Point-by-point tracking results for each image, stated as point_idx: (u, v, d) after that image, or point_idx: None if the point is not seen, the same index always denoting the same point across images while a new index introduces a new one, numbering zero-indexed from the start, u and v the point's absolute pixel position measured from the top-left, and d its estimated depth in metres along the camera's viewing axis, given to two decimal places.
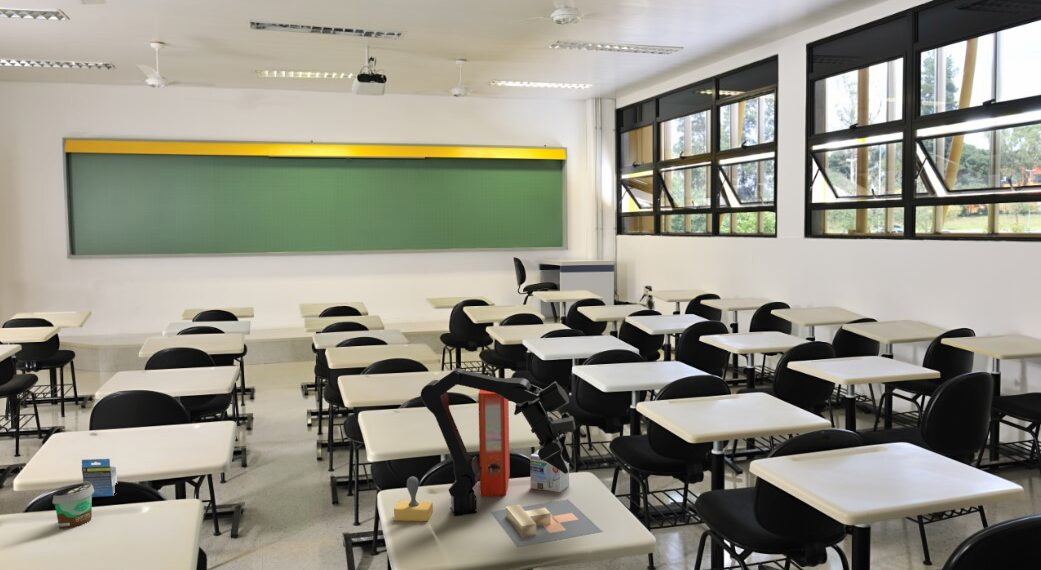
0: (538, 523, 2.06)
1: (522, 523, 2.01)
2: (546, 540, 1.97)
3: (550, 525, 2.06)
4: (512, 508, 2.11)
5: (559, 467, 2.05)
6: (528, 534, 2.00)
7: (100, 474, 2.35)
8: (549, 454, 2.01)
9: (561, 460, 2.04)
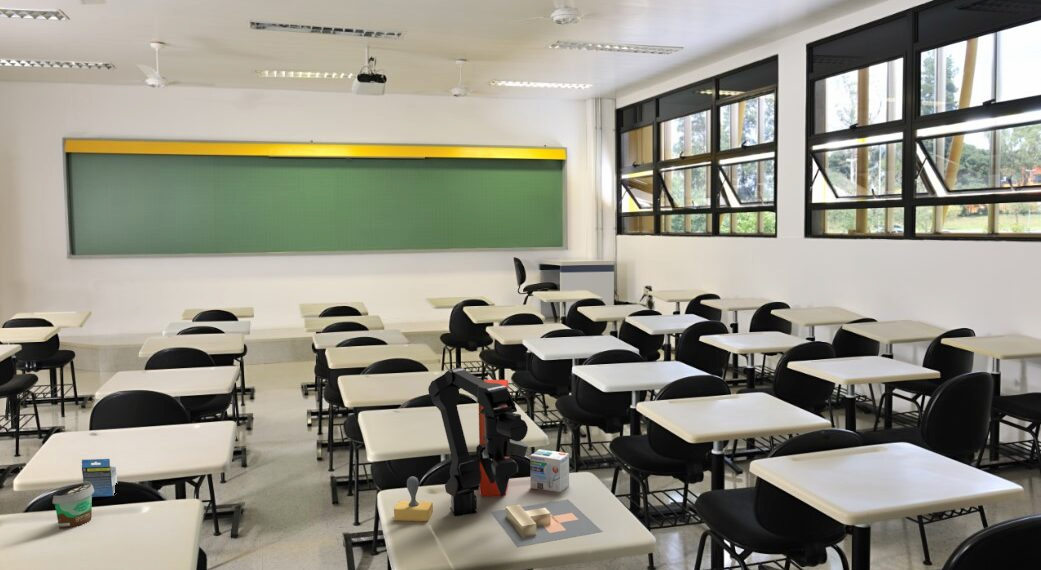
0: (538, 523, 2.06)
1: (522, 523, 2.01)
2: (546, 540, 1.97)
3: (550, 525, 2.06)
4: (512, 508, 2.11)
5: (500, 486, 1.98)
6: (528, 534, 2.00)
7: (100, 474, 2.35)
8: (506, 472, 1.94)
9: (507, 481, 1.98)
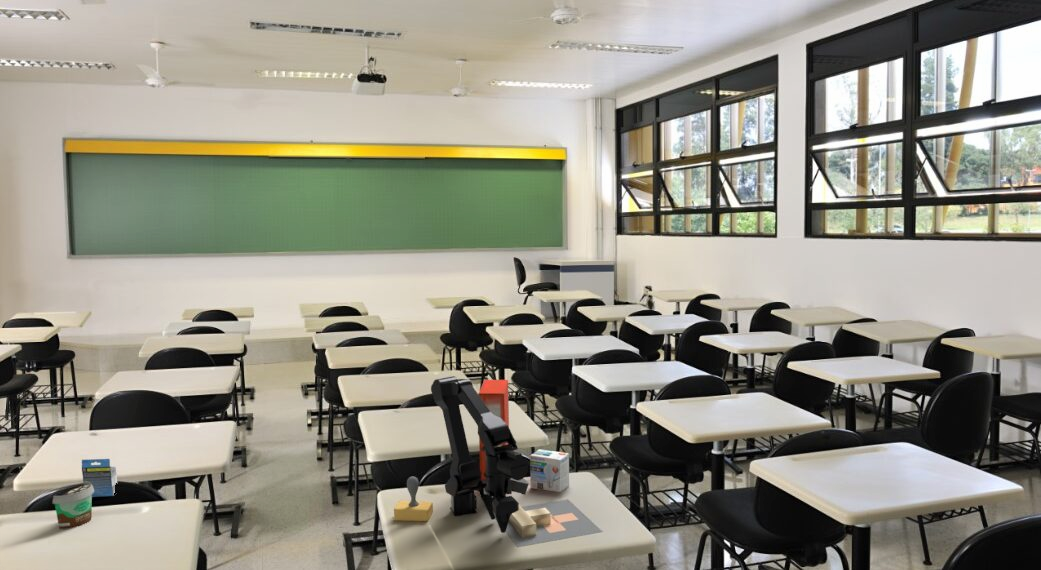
0: (538, 523, 2.06)
1: (522, 523, 2.01)
2: (546, 540, 1.97)
3: (550, 525, 2.06)
4: None
5: (501, 524, 1.99)
6: (528, 534, 2.00)
7: (100, 474, 2.35)
8: (507, 511, 1.95)
9: (507, 519, 1.99)
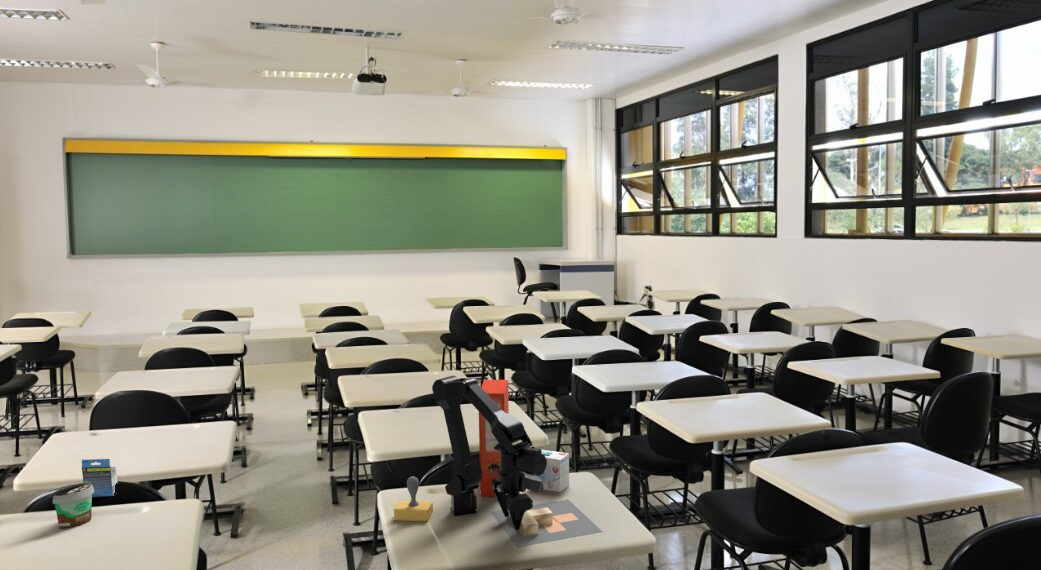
0: (540, 523, 2.06)
1: (524, 522, 2.01)
2: (546, 540, 1.97)
3: (550, 525, 2.06)
4: None
5: (515, 522, 2.00)
6: (530, 534, 2.00)
7: (100, 474, 2.35)
8: (521, 508, 1.96)
9: (521, 516, 2.00)
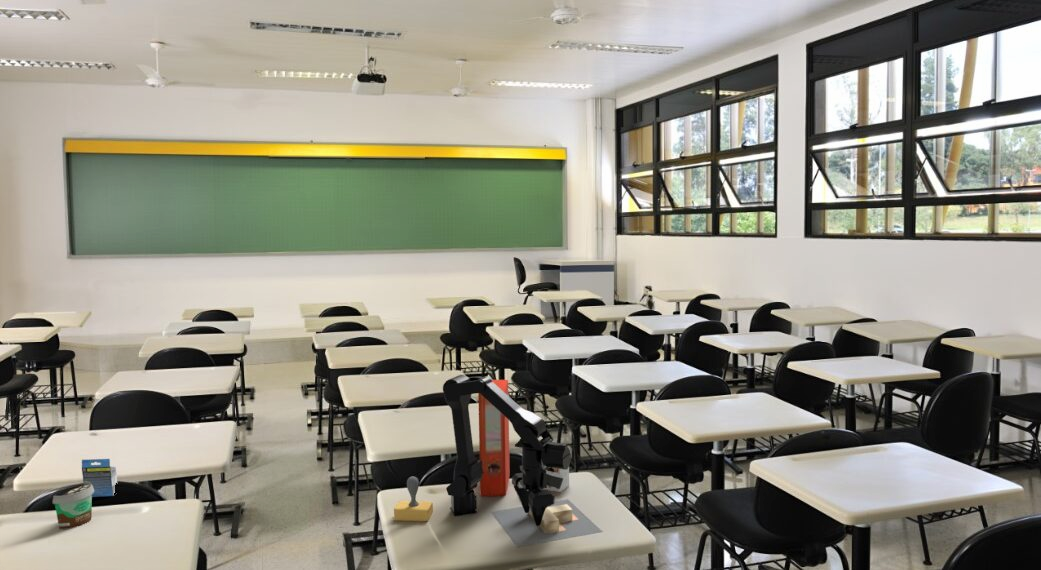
0: (560, 519, 2.08)
1: (545, 519, 2.03)
2: (546, 540, 1.97)
3: None
4: None
5: (536, 517, 2.02)
6: (551, 530, 2.02)
7: (100, 474, 2.35)
8: (543, 504, 1.98)
9: (542, 512, 2.02)
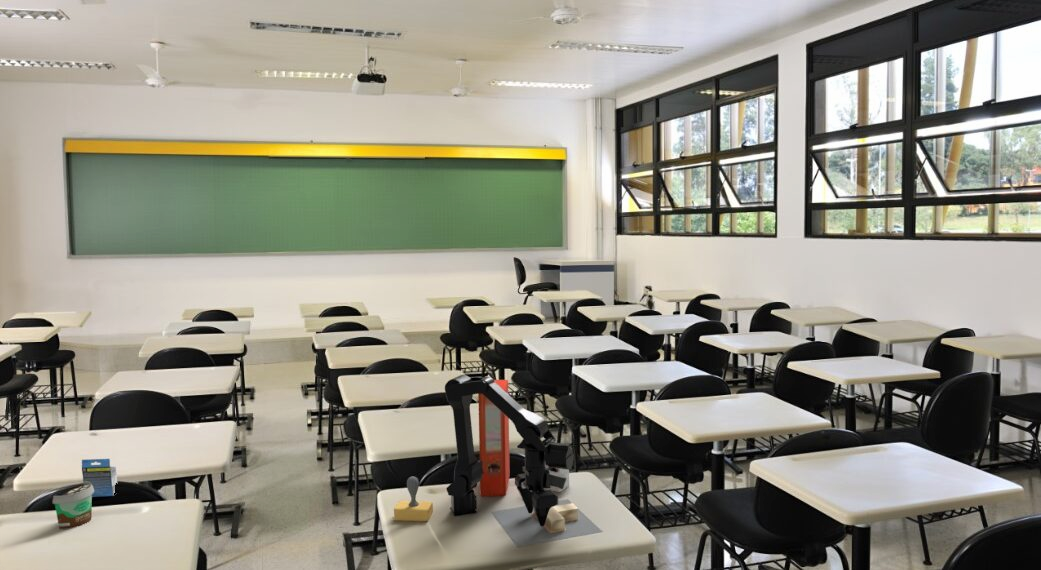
0: (566, 518, 2.09)
1: (551, 518, 2.04)
2: (546, 540, 1.97)
3: None
4: None
5: (540, 518, 2.02)
6: (557, 529, 2.03)
7: (100, 474, 2.35)
8: (547, 504, 1.98)
9: (546, 513, 2.02)
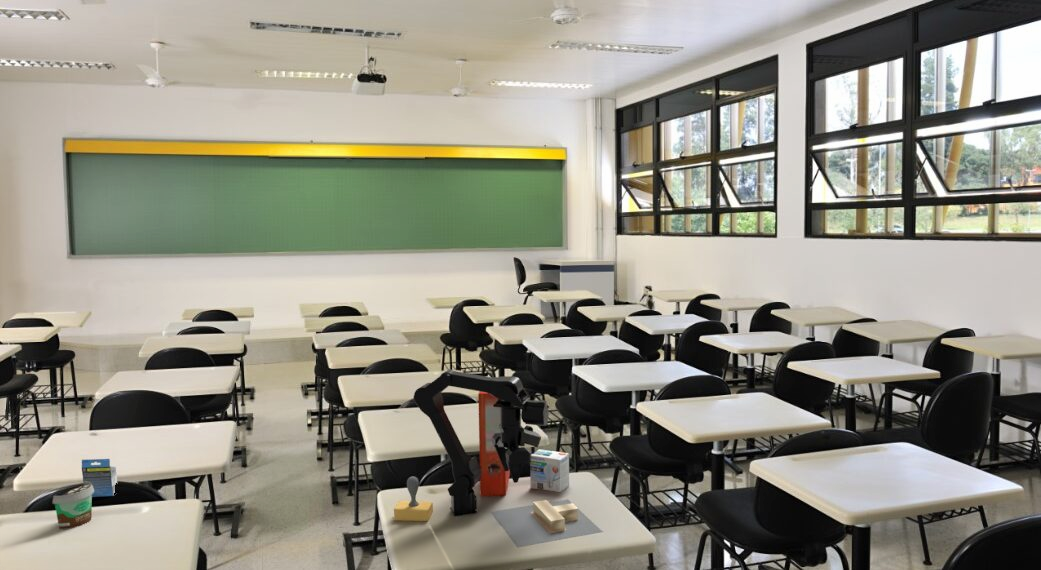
0: (566, 518, 2.09)
1: (551, 518, 2.04)
2: (546, 540, 1.97)
3: None
4: (540, 503, 2.13)
5: (513, 474, 2.07)
6: (557, 529, 2.03)
7: (100, 474, 2.35)
8: (519, 461, 2.03)
9: (520, 469, 2.07)
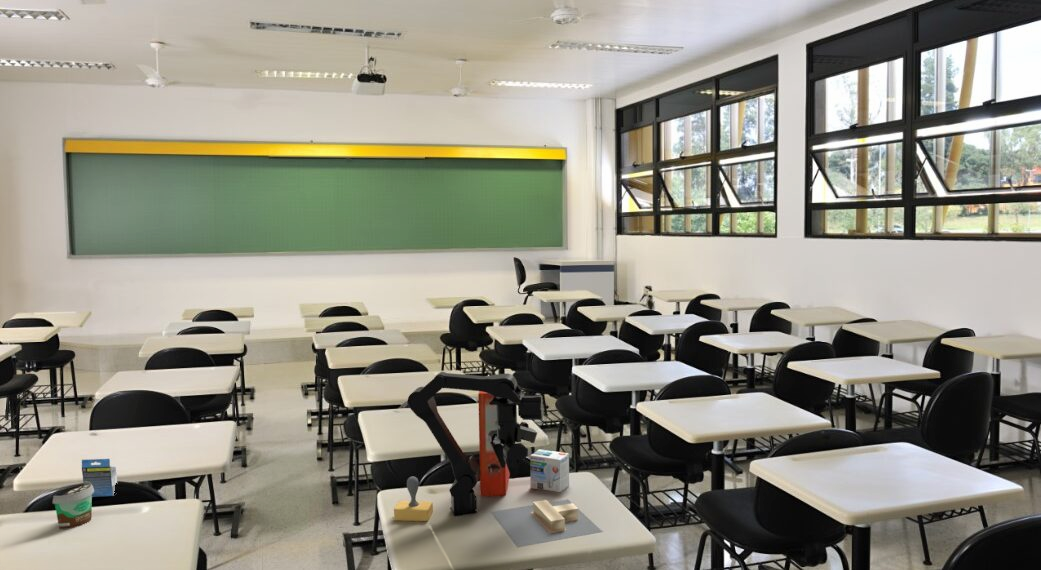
0: (566, 518, 2.09)
1: (551, 518, 2.04)
2: (546, 540, 1.97)
3: None
4: (540, 503, 2.13)
5: (511, 470, 2.09)
6: (557, 529, 2.03)
7: (100, 474, 2.35)
8: (517, 456, 2.05)
9: (517, 465, 2.09)
